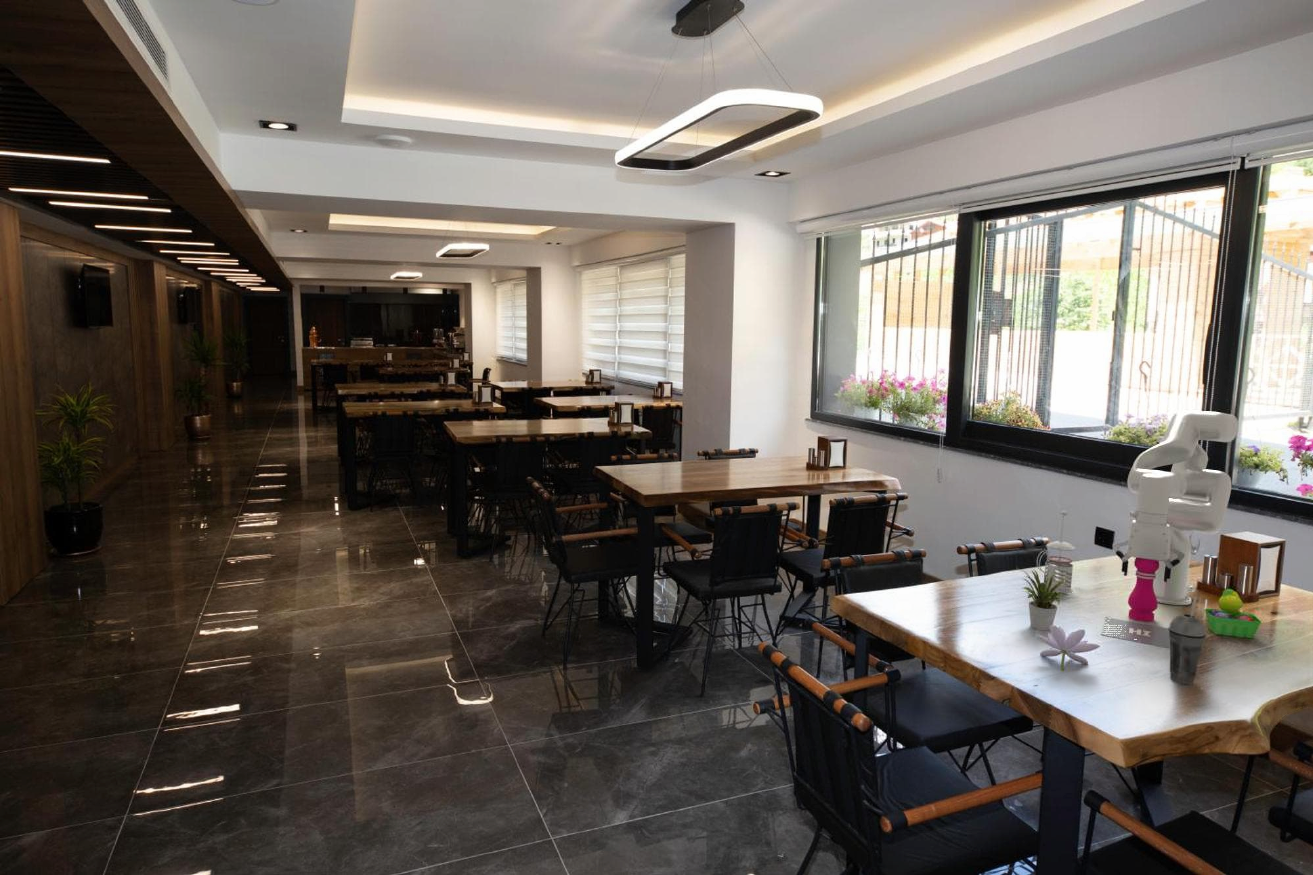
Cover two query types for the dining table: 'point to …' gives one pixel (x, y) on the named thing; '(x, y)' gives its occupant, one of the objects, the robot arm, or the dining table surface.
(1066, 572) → the french press
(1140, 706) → the dining table surface
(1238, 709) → the dining table surface
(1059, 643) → the water lily
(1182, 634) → the beverage cup
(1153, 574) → the pepper mill
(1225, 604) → the fruit basket
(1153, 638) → the tile
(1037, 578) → the house plant
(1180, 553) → the robot arm
